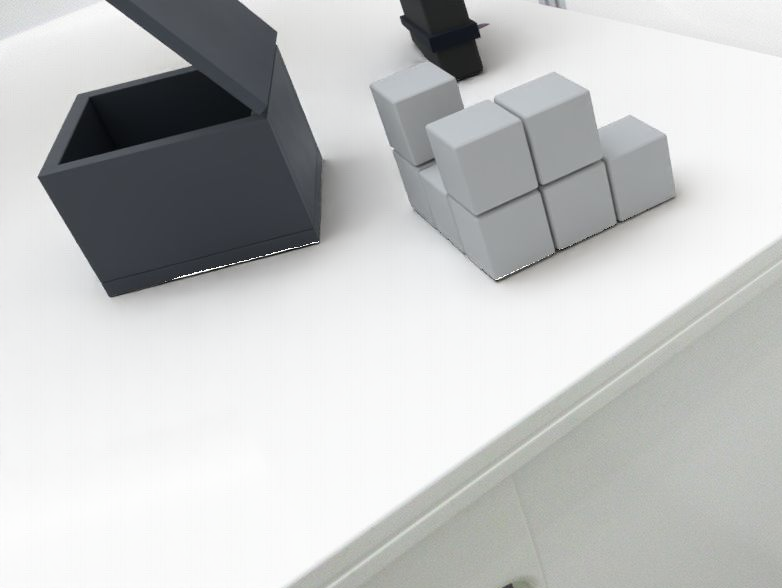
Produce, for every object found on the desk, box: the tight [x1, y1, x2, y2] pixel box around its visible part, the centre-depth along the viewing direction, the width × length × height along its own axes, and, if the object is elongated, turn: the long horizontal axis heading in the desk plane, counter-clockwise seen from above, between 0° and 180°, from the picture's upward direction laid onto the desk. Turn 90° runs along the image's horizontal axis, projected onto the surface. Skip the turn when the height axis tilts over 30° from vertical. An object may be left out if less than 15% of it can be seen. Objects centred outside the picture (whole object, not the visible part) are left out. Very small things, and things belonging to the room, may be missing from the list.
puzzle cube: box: [369, 60, 677, 280], centre depth 62 cm, size 12×12×8 cm
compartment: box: [37, 44, 323, 298], centre depth 67 cm, size 13×12×8 cm
